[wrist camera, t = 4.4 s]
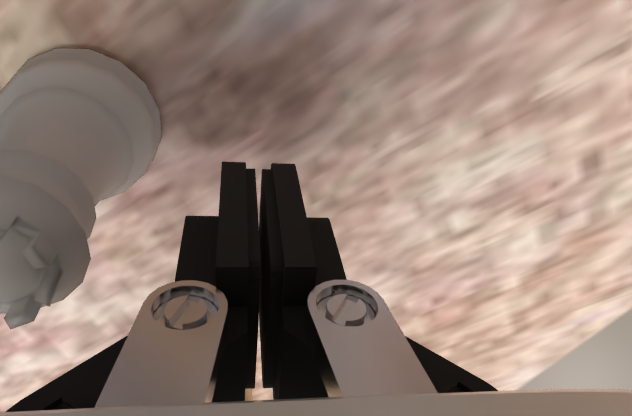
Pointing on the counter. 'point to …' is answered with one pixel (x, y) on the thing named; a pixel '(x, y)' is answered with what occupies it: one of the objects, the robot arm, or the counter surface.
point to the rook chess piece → (64, 168)
